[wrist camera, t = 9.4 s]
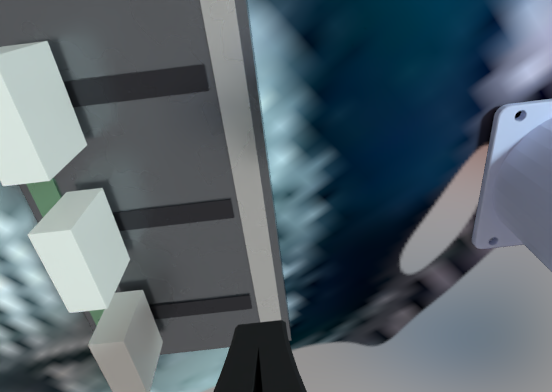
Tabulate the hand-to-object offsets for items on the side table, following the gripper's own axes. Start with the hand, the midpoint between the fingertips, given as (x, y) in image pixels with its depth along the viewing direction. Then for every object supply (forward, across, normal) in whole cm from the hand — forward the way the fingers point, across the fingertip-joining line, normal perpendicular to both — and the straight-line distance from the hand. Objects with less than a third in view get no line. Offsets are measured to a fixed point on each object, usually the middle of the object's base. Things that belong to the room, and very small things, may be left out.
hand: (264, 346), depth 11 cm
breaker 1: (+8, +7, -6) cm, 12 cm away
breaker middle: (+8, +8, 0) cm, 11 cm away
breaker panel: (+9, +5, 0) cm, 11 cm away
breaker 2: (+7, +8, +6) cm, 12 cm away
